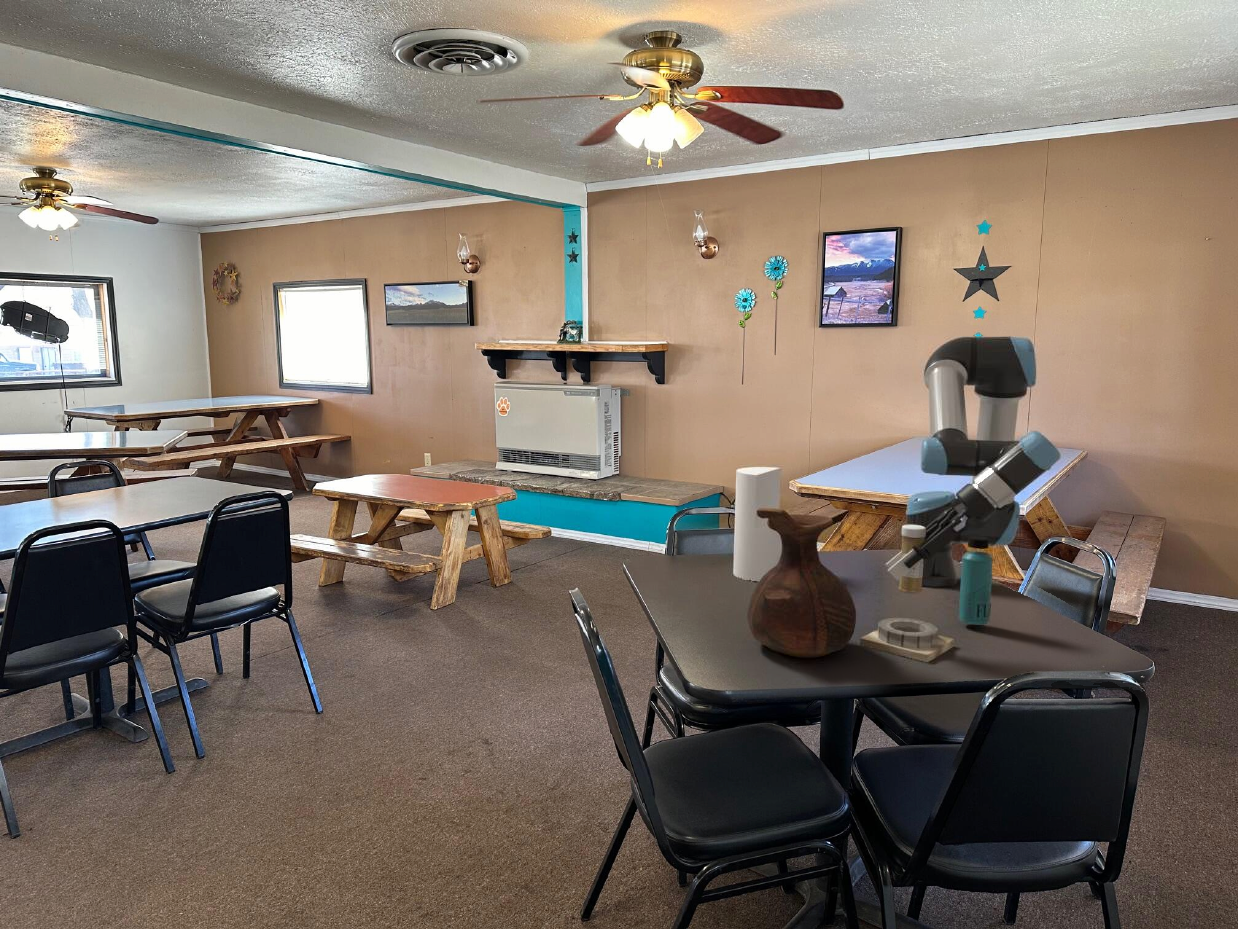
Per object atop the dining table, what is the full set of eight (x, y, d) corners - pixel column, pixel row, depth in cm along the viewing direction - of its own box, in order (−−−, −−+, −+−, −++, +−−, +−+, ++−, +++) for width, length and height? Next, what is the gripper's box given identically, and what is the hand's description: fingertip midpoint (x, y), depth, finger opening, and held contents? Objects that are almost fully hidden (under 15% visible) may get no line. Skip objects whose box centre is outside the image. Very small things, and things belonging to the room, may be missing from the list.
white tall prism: (722, 576, 224) (725, 472, 220) (748, 563, 239) (751, 465, 235) (784, 586, 215) (788, 478, 211) (807, 572, 230) (811, 470, 226)
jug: (734, 631, 180) (738, 492, 176) (833, 630, 181) (839, 492, 177) (758, 669, 158) (763, 512, 154) (870, 667, 160) (878, 511, 156)
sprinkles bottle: (894, 591, 170) (898, 526, 168) (903, 587, 173) (907, 523, 172) (917, 596, 167) (921, 529, 165) (925, 591, 171) (929, 526, 169)
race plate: (888, 630, 181) (889, 612, 181) (953, 646, 172) (955, 627, 171) (859, 645, 172) (860, 626, 171) (926, 662, 162) (928, 642, 162)
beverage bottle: (975, 633, 180) (981, 541, 177) (950, 624, 186) (955, 535, 183) (996, 629, 183) (1002, 539, 180) (970, 620, 189) (976, 533, 186)
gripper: (1007, 517, 156) (909, 597, 162) (989, 502, 173) (900, 575, 179) (978, 488, 157) (881, 569, 163) (963, 475, 173) (875, 549, 179)
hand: (891, 572), depth 171 cm, fingers closed on sprinkles bottle, 4 cm apart
